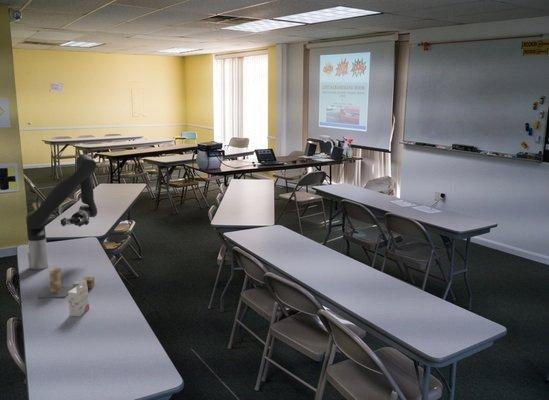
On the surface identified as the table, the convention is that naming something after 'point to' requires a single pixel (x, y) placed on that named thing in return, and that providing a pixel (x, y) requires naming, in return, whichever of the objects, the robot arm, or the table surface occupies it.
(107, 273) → the table surface
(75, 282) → the grey block
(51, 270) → the maple block
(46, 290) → the slate mat
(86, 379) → the table surface
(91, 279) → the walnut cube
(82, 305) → the ink cartridge box
